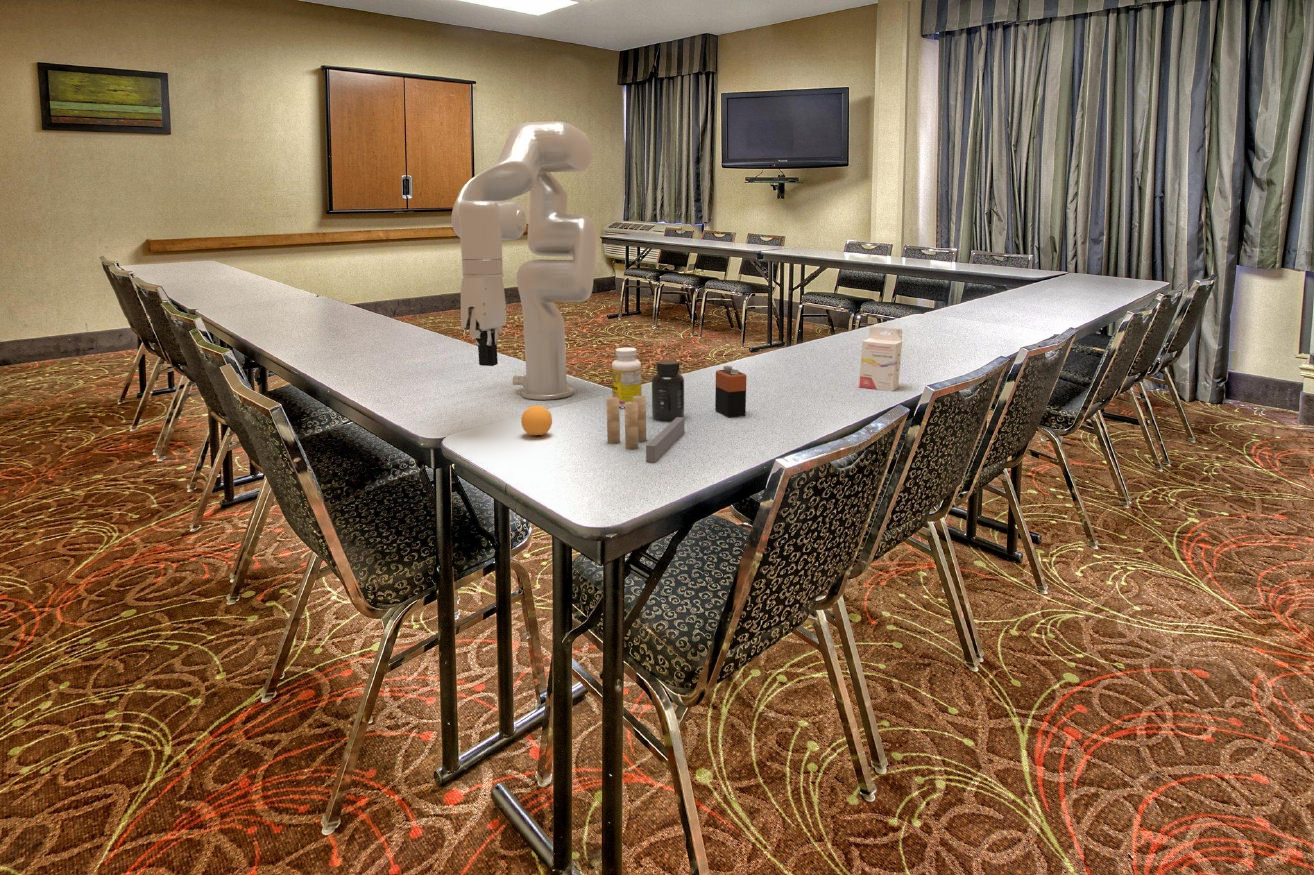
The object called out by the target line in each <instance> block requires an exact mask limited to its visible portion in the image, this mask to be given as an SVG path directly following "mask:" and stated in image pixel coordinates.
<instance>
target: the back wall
mask: <svg viewBox="0 0 1314 875" xmlns="http://www.w3.org/2000/svg"><path fill="white" fill-rule="evenodd" d="M683 434H685V417H683V418H682V417H676V418H675V419H674V420H673V421H670V423H669V424H667V426H666V427H665V428H662V430H661V431H660V432H659V433H658V434H657V435H656V436H655V437H653V439H651V440H650V441H649V442H647V444H646V445H645V462H646V463H656V462H657V461H658V460H659V459H660V458H662V456H663V455H664V454H665V453H666V452H667V451H668V450H669V449H670V448H671V447H672V446H673V445H674V444H675V442H676V441H678V440H679V438H681V436H682V435H683Z"/></svg>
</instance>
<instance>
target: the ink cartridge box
mask: <svg viewBox="0 0 1314 875" xmlns="http://www.w3.org/2000/svg"><path fill="white" fill-rule="evenodd" d="M868 332H869V333H868V334H869V337H868V338H866V339H863V340H862V345H861V346H862V347H861V357H860V358H861V359H860V371H859V385H858V387H859V388H863V389H869V390H870V389H871V390H877V391H883V392H884V391H886V392H894V391H895V390H897V389H898V388H899V382H900V381H899V380H900V372H901V371H900V369H901V361H902V360H901V359H902V350H903V349H902V348H903V347H902V346H903V341H902V338H903V336H902V335H903V329H902V328H899V327H898V328H897V327H888V326H874V325H871V326H870V327H869V331H868ZM883 332H887V333H891V334H883Z"/></svg>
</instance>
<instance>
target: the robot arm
mask: <svg viewBox="0 0 1314 875" xmlns="http://www.w3.org/2000/svg"><path fill="white" fill-rule="evenodd" d="M592 156H593V150H592V144H591V141H590V139H589V137H588V136H587V134H586V133H585V132H584V131H582V130H580V129H579V128H578V127H576V126H574V125H572V124H570V123H567V122H565V121H560V120H559V121H558V120H556V121H555V120H553V121H552V120H551V121H526V122H521V123H520V122H519V123H518V124H516V125H515V126H513V128H512V129H511V130H510V132H509V134H508V137H507V138H506V140H505V144H504V145H503V147H502V150H501V152H500V154H499V157H498V159H497V161H496V163H494V164H492V165H491V166H488V167H487V168H485V169H484V170H483V171H481V172H480V173H478V174H476V175H475V176H473V177H472V178H470V179H469V180H468V181H467V182H466V183H465V184H464V185H463V186H462V188H461V189H460V191H459V193H458V194H457V197H456V200H455V202H454V205H453V207H452V212H451V216H450V218H451V226H452V230H453V232H454V233H455V235H456V236H457V237H458V238H460V251H461V252H460V253H461V268H462V278H461V286H460V287H461V288H460V322H461V323H460V324H461V328H462V329H463V330H464V331H469V338H472V339H474V340H475V343H476V345H477V348H478V349H477V352H478V354H477V355H478V364H479V365H480V366H482V367H483V366H484V367H494V366H496V365H498V364H499V362H498V358H499V357H498V348H497V347H498V345H497V344H498V343H499V334H500V333H501V332H502V331H503V326H504V325H506V323H507V302H506V294H505V292H506V291H505V287H504V281H503V277H504V266H503V263H504V262H503V246H502V242H503V241H505V242H508V241H516V240H517V239H519V238H521V237H522V236H523V234H524V233H525V232H526V228H527V247H528V249H529V250H530V252H531V253H532V254H534V255H537V256H541V257H572V259H546V258H545V259H544V258H542V259H531V260H528V261H524V262H523V263H521V264H520V266H519V267H518V268H517V272H516V285H517V290H518V294H519V298H520V304H521V310H522V319H523V339H524V340H523V341H524V357H525V359H524V360H525V372H526V373H525V375H523V376H522V375H513V377H512V384H513V385H515V386H516V385H517V386H522V388H521V390H520V395H521V396H522V397H523V398H525V399H529V400H536V401H537V400H538V401H539V400H541V401H542V400H543V401H544V400H545V401H547V400H558V399H564V398H567V397H570V396H573V394H574V393H575V391H574V390H575V389H574V388H573V386H571V385H568V380H567V379H568V378H567V377H568V376H567V356H566V355H567V354H566V352H567V351H566V329H565V328H566V327H565V326H566V325H565V324H566V323H565V319H564V317H563V315H562V313H561V312H560V310H559V309H558V307H557V306H556V304H555V303H582V302H583V303H584V302H586V301H588V300H589V298H590V297H591V296H592V292H593V288H594V278H595V267H596V266H595V264H596V253H597V252H596V250H597V232H596V225H595V223H594V221H593V220H592V218H591V217H590V216H588V215H586V214H580V213H568V212H567V210H568V195H567V193H566V190H565V189H564V187H563V186H562V185H561V183H560V182H559V181H558V180H557V179H556V178H555V176H553V174H552V173H573V172H574V173H576V172H577V173H578V172H579V173H580V172H583V171H585V170H587V169H588V168H589V166H590V165H591V163H592V158H593V157H592ZM528 192H529V195H530V203H529V215H528V223H527V215H526V212H525V210H524V208H523V207H522V206H521V205H520V204H519V203H517V202H515V201H511V200H512V199H515V198H517V197H519V196H522V195H524V194H526V193H528ZM527 224H528V226H527Z"/></svg>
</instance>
